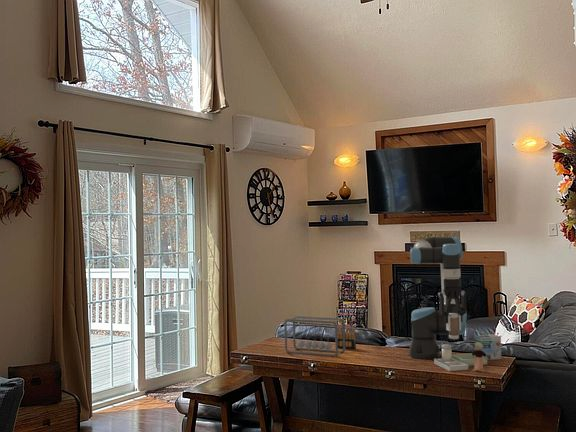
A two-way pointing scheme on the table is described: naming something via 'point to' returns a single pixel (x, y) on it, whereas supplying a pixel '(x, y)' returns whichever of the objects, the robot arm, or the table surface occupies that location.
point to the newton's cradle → (315, 344)
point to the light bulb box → (490, 345)
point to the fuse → (446, 353)
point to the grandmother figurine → (478, 357)
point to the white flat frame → (451, 365)
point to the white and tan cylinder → (454, 326)
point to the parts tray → (467, 359)
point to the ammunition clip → (346, 338)
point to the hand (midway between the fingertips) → (453, 329)
